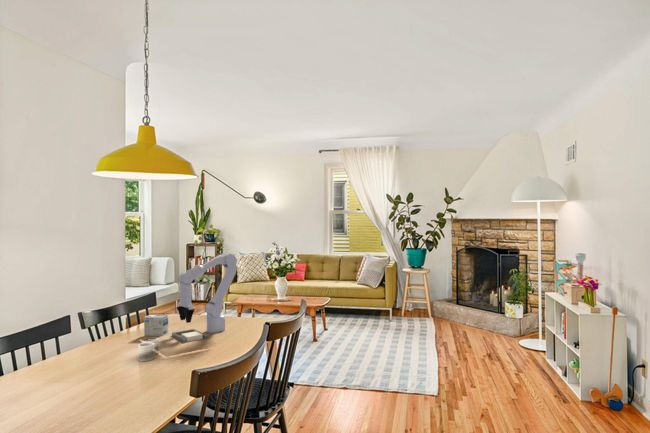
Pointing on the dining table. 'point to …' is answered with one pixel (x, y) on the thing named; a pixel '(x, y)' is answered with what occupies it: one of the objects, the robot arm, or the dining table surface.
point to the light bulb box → (156, 325)
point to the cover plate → (192, 336)
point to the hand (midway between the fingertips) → (185, 321)
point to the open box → (178, 334)
